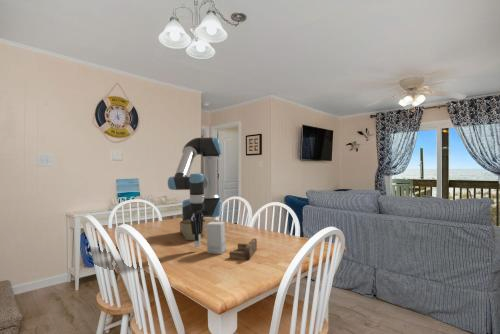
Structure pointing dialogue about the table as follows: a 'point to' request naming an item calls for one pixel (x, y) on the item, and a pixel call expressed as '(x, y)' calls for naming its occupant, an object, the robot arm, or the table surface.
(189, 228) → the planter bowl
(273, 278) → the table surface
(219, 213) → the robot arm
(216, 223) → the skincare box
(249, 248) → the bay
